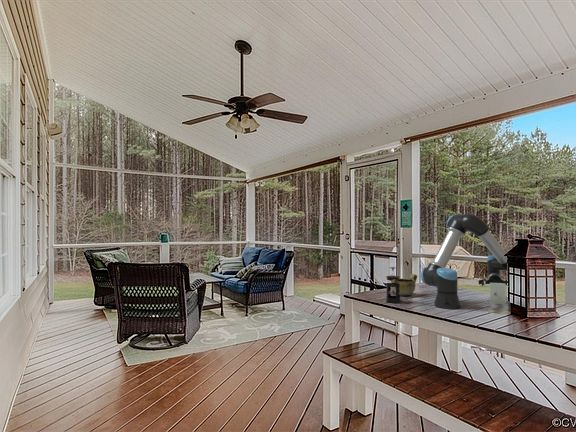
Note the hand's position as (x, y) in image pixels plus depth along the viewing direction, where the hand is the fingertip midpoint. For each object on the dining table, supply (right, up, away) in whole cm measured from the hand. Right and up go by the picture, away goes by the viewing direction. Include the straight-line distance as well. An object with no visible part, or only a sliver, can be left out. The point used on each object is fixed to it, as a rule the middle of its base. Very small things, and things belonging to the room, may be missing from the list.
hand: (497, 285), depth 222 cm
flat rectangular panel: (-5, -13, -9) cm, 17 cm away
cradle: (-7, -13, -14) cm, 21 cm away
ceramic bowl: (-46, -15, +38) cm, 62 cm away
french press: (-60, -14, +16) cm, 64 cm away
